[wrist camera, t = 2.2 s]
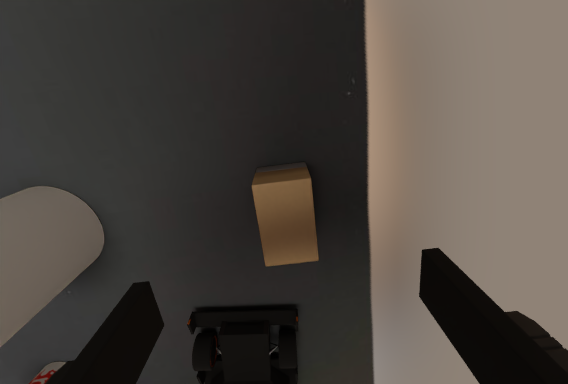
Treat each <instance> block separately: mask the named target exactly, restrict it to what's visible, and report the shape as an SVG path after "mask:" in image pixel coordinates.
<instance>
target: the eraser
mask: <svg viewBox="0 0 568 384" xmlns="http://www.w3.org/2000/svg"><path fill="white" fill-rule="evenodd" d="M252 191H253V197H254V203H255V209H256V214H257V220H258V226H259V232H260V237H261V243H262V249H263V255H264V260H265V266H275V265H284V264H293V263H302V262H311V261H318V260H319V258H318V247H317V236H316V225H315V214H314V204H313V193H312V182H311V177H310V174H309V171H308V169H307V166H306V163H305V162H299V163H291V164H283V165H274V166H266V167H258V168H257V169H256V172H255V176H254V179H253V183H252Z"/></svg>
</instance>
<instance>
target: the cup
mask: <svg viewBox="0 0 568 384" xmlns="http://www.w3.org/2000/svg"><path fill="white" fill-rule="evenodd" d="M103 245H104V232H103V228H102V225H101V223H100V221H99V219H98V217H97V216H96V214H95V213H94V211H93V210H92V209H91V208H90V207H89V206H88V205H87V204H86V203H85V202H84V201H82V200H81V199H80V198H78V197H77V196H75V195H73V194H71V193H69V192H67V191H64V190H62V189H59V188H54V187H49V186H36V187H31V188H27V189H24V190H22V191H19V192H17V193H14V194H11V195H9V196H6V197H4V198H1V199H0V347H1V346H2V345H3V344H5V343H6V342H7V341H8V340H9V339H10V338H11V337H12V336H13V335H14V334H15V333H17V332H18V331H19V330H20V329H21V328H22V327H23V326H24V325H25V324H26V323H27V322H28V321H30V320H31V319H32V318H33V317H34V316H35V315H36V314H37V313H38V312H39V311H40V310H41V309H43V308H44V307H45V306H46V305H47V304H48V303H49V302H50V301H51V300H52V299H53V298H55V297H56V296H57V295H58V294H59V293H60V292H61V291H62V290H63V289H64V288H65V287H66V286H68V285H69V284H70V283H71V282H72V281H73V280H74V279H75V278H76V277H77V276H78V275H80V274H81V273H82V272H83V271H84V270H85V269H86V268H87V267H88V266H89V265H90V264H91V263H93V262H94V261H95V260H96V259H97V257H98V256H99V255H100V253H101V251H102V249H103Z"/></svg>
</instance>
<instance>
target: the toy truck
mask: <svg viewBox="0 0 568 384" xmlns="http://www.w3.org/2000/svg"><path fill="white" fill-rule="evenodd" d="M269 325H296V331H298V312H297V309H279V310H242V311H206V312H192V314H191V316H190V319H189V321H188V324H187V326H188V328H189V330H190V332H191V334H194V332H195V329H196V327H220V331H219V342H220V345H219V346H220V349H219V348H218V347H219V346H218V340H217V334H216V333H199V334H198V335H197V337H196V339H195V342H194V347H193V353H192V365H193V369H194V370H195V371H198V374H197V379H198V381H199V383H200V384H204V382H205V384H297V380H298V371H297V350H296V333H295V330H289V331H279V345H276V344H273V343H271V344H273V345H276V347H274V348H275V349H276V348H277V347H279V353H278V355H279V358H271V353H272V352H273V351H274V350H275V349H274V348H272V349H273V350H272V349H270V334H269ZM217 350H218V351H219V350H221V352H220V351H219V353H220V354H221V357H222V358H220V359H222V360H216V358H218V357H217V354H218V353H217ZM270 350H272V351H271V352H270ZM275 353H276V352H275ZM275 356H276V355H275ZM272 357H274V356H272Z"/></svg>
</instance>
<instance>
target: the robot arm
mask: <svg viewBox="0 0 568 384" xmlns="http://www.w3.org/2000/svg"><path fill="white" fill-rule="evenodd" d="M419 297H420V298H421V300H422V301H423V303H424V304H425V305H426V307H427V308H428V310H429V311H430V313H431V314H432V315H433V317H434V318H435V320H436V321H437V323H438V324H439V326H440V327H441V329H442V330H443V332H444V333H445V334H446V336H447V337H448V339H449V340H450V342H451V343H452V345H453V346H454V347H455V349H456V350H457V352H458V353H459V355H460V356H461V358H462V359H463V360H464V362H465V363H466V364H467V366H468V368H469V369H470V370H471V372H472V373H473V375H474V376H475V378H476V379H477V381H478V382H479V383H480V384H568V350H566V349H564V348H563V347H562V345H561V344H560V343H559V342H558V341H557V340H555V339H554V338H553V337H550V334H549V333H548V332H546V331H545V330H544V329H543V328H542V327H541V326H540V325H538V324H537V323H536V322H535V321H534V320H532V319H530V318H528V317H526V316H525V315H523V314H521V313H519V312H518V311H512V312H504V311H503V310H502V309H501V308H500V307H499V306H498V305H497V304H496V303H495V302H494V301H493V300H492V299H491V298H490V297H489V296H487V295H486V294H485V292H483V291H482V290H481V289H480V288H479V287H478V286H477V285H476V284H475V283H474V282H473V281H472V280H471V279H470V278H469V277H468V276H467V275H466V274H465V273H464V272H463V271H462V270H461V269H459V267H458V266H457V265H456V264H454V263H453V262H452V261H451V260H450V259H449V258H448V257H447V256H446V255H445V254H444V253H443V252H442V251H441V250H440V249H439V248H433V249H424V250H422V258H421V275H420V293H419ZM163 327H164V323H163V320H162V317H161V314H160V311H159V308H158V305H157V303H156V300H155V297H154V294H153V291H152V288H151V286H150V283H149V281H147V282H139V283H133V284H132V286H131V287H130V288H129V290H128V291H127V292H126V294H125V295H124V296H123V298H122V299H121V300H120V301H119V303H118V304H117V305H116V307H115V308H114V309H113V311H112V312H111V313H110V315H109V316H108V317H107V319H106V320H105V321H104V323H103V324H102V325H101V326H100V328H99V329H98V330H97V332H96V333H95V334H94V336H93V337H92V338H91V340H90V341H89V342H88V344H87V345H86V346H85V348H84V349H83V350H82V351H81V353H80V354H79V355H78V357H77V358H76V359H75V360H74V361H67V362H66V363H65V364H64V365H63V366H62V367H61V368H59V369H58V370H57V371H56V372H55V373H54V374H52V375H51V377H50V378H49V379H48V380H47V382H46V383H45V384H136V382H137V380H138V378H139V376H140V374H141V372H142V370H143V368H144V366H145V364H146V362H147V360H148V358H149V356H150V354H151V352H152V349H153V347H154V345H155V343H156V341H157V339H158V337H159V335H160V333H161V331H162V329H163Z"/></svg>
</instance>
